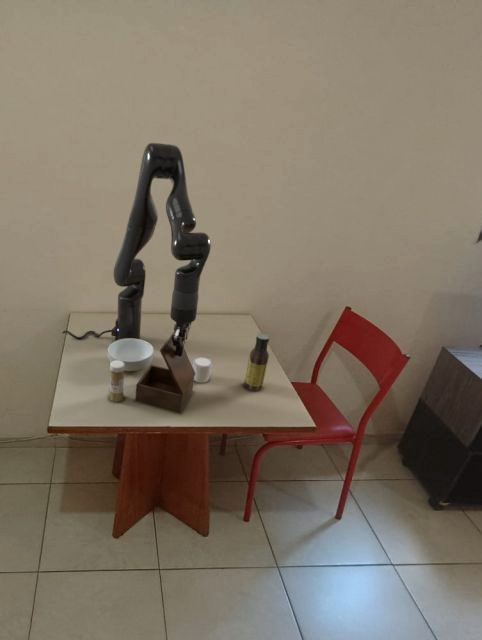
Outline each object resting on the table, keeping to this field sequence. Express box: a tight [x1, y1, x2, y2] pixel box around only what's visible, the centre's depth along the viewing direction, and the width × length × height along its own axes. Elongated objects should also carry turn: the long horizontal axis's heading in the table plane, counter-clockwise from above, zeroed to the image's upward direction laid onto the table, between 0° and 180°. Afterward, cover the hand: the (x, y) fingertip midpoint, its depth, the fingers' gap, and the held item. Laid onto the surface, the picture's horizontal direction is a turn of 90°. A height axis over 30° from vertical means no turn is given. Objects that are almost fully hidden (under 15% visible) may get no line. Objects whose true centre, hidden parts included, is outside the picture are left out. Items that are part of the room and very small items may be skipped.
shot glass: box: [192, 356, 214, 384], centre depth 156 cm, size 7×7×7 cm
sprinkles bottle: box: [109, 361, 125, 403], centre depth 143 cm, size 5×5×13 cm
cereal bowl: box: [107, 338, 155, 372], centre depth 162 cm, size 17×17×7 cm
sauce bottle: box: [244, 333, 270, 392], centre depth 149 cm, size 6×6×20 cm
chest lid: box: [159, 331, 195, 395], centre depth 139 cm, size 16×13×1 cm
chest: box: [135, 364, 194, 414], centre depth 147 cm, size 15×13×7 cm
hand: (178, 354), depth 138 cm, fingers closed
